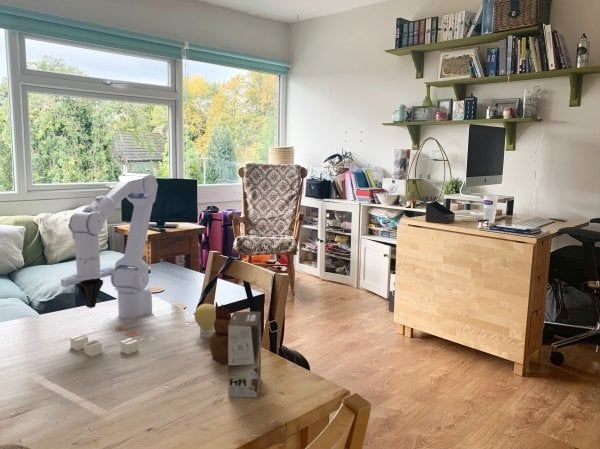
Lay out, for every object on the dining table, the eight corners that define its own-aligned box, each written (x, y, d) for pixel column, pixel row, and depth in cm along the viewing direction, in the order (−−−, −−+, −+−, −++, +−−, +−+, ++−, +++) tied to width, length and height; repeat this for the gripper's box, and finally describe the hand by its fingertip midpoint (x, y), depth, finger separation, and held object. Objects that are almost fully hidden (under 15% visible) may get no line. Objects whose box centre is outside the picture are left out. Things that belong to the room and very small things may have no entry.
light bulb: (213, 345, 133) (213, 309, 131) (191, 342, 134) (190, 307, 132) (222, 336, 139) (221, 301, 137) (200, 334, 140) (199, 299, 138)
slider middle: (95, 349, 126) (94, 339, 125) (102, 352, 124) (101, 342, 124) (84, 353, 123) (83, 343, 123) (91, 356, 122) (90, 346, 121)
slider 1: (81, 343, 129) (81, 333, 129) (88, 346, 127) (87, 336, 127) (70, 347, 127) (70, 337, 126) (77, 350, 125) (76, 340, 125)
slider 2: (130, 347, 127) (130, 337, 127) (138, 350, 126) (137, 340, 125) (120, 351, 125) (120, 341, 124) (128, 354, 123) (127, 344, 123)
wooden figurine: (205, 362, 122) (205, 303, 120) (220, 353, 128) (219, 297, 125) (228, 368, 119) (227, 308, 117) (242, 359, 124) (242, 301, 122)
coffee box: (257, 398, 106) (257, 325, 103) (227, 397, 106) (226, 325, 103) (261, 378, 115) (262, 311, 112) (233, 377, 115) (233, 310, 112)
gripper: (70, 265, 123) (74, 317, 125) (121, 254, 135) (123, 302, 137) (54, 260, 127) (58, 311, 129) (105, 250, 139) (107, 297, 141)
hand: (90, 306), depth 133 cm, fingers closed
